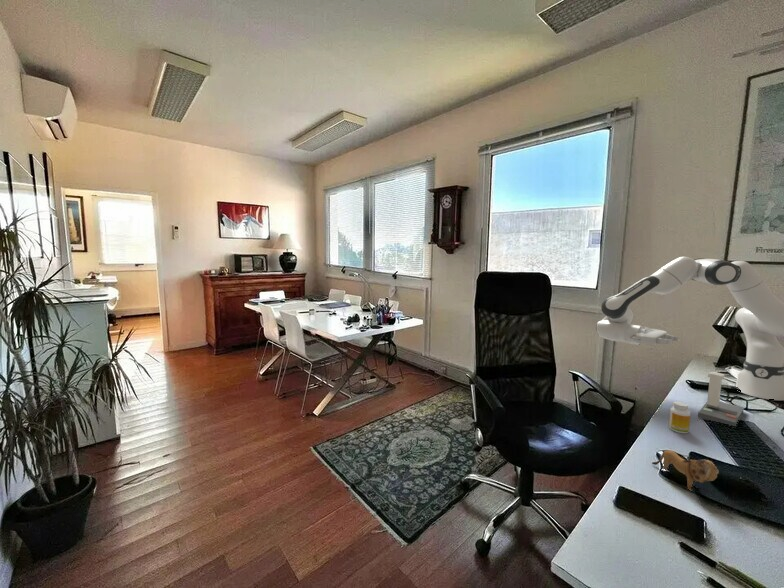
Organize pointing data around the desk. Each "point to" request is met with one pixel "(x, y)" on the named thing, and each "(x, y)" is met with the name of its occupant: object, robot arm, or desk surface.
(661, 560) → the desk surface
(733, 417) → the breaker panel
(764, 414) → the desk surface
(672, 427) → the supplement bottle
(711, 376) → the lever
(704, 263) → the robot arm
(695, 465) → the lion figurine
